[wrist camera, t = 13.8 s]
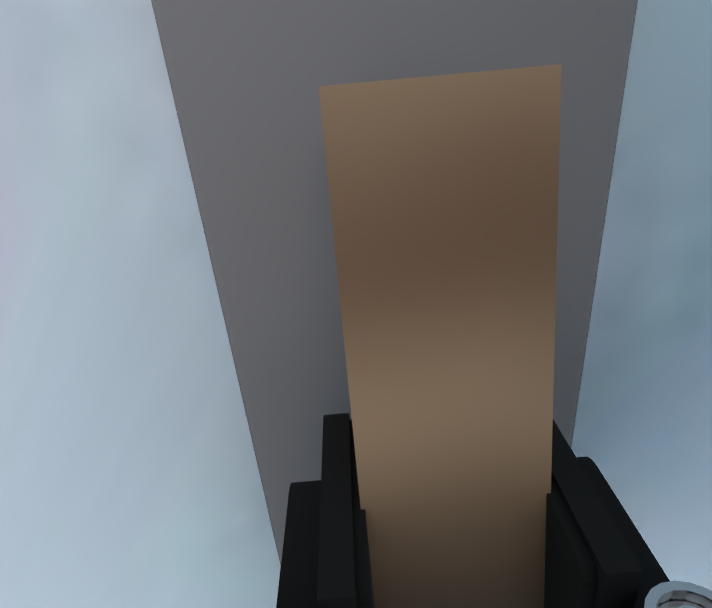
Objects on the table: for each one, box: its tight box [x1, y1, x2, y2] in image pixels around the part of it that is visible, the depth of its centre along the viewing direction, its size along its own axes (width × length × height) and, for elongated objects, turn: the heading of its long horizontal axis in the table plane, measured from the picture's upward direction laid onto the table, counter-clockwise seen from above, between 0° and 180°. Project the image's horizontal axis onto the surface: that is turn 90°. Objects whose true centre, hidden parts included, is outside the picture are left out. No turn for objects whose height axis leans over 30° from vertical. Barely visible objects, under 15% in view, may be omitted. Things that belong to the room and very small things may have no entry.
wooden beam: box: [319, 64, 562, 608], centre depth 11 cm, size 18×6×4 cm, turn 4°
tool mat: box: [151, 0, 638, 564], centre depth 15 cm, size 24×10×1 cm, turn 5°
